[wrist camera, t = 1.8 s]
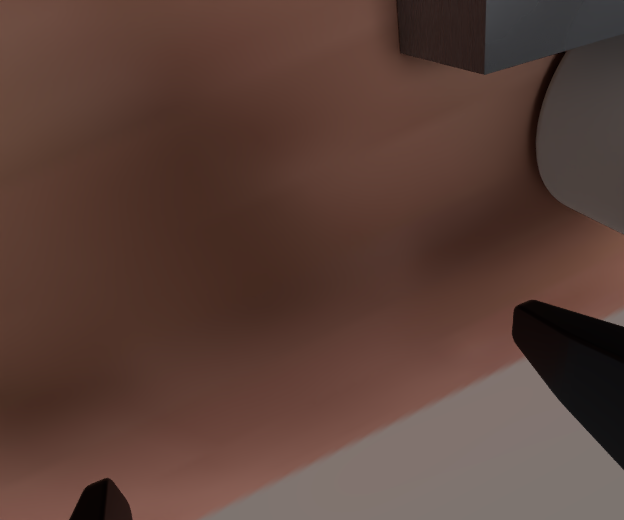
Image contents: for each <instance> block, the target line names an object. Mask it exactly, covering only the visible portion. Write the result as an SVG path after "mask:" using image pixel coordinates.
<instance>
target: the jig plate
mask: <svg viewBox="0 0 624 520" xmlns="http://www.w3.org/2000/svg"><path fill="white" fill-rule="evenodd" d="M397 6H398V21H399V36H400V51H401V54H405V55H409V56H413V57H417V58H421V59H425V60H429V61H433V62H436V63H440V64H444V65H448V66H452V67H456V68H460V69H464V70H468V71H471V72H475V73H479V74H483V75H485V74H489V73H492V72H496V71H499V70H502V69H506V68H509V67H513V66H516V65H519V64H523V63H526V62H530V61H533V60H536V59H540V58H543V57H546V56H550V55H553V54H557V53H560V52H563V51H567V50H570V49H574V48H577V47H580V46H584V45H587V44H591V43H594V42H597V41H601V40H604V39H607V38H611V37H614V36H618V35H621V34H624V0H397Z"/></svg>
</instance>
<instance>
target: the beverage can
mask: <svg viewBox="0 0 624 520" xmlns="http://www.w3.org/2000/svg"><path fill="white" fill-rule="evenodd" d="M536 156H537V164H538V168H539V172H540V176H541V178H542V180H543V182H544V184H545V186H546V188H547V189H548V191H549V192H550V193H551V194H552V195H553V196H554V197H555V198H556V199H557V200H558V201H559V202H561V203H562V204H564V205H565V206H567V207H569V208H571V209H573V210H575V211H577V212H579V213H581V214H583V215H585V216H587V217H589V218H591V219H593V220H595V221H597V222H599V223H601V224H603V225H606V226H608V227H610V228H612V229H614V230H616V231H618V232H620V233H622V234H624V34H621V35H618V36H614V37H611V38H607V39H604V40H601V41H597V42H594V43H591V44H587V45H584V46H580V47H577V48H574V49H570V50H567V52H566V53H565V55H564V56H563V58H562V60H561V62H560V63H559V65H558V67H557V69H556V71H555V73H554V75H553V77H552V79H551V82H550V84H549V87H548V89H547V92H546V95H545V98H544V100H543V104H542V107H541V111H540V115H539V120H538V126H537V134H536Z"/></svg>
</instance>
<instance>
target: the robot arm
mask: <svg viewBox="0 0 624 520" xmlns="http://www.w3.org/2000/svg"><path fill="white" fill-rule="evenodd" d="M512 336H513V339H514V341H515V343H516V345H517V346H518V347H519V349H520V350H521V351H522V353H523V354H524V355H525V357H526V358H527V359H528V361H529V362H530V363H531V365H532V366H533V367H534V368H535V370H536V371H537V372H538V374H539V375H540V376H541V378H542V379H543V380H544V382H545V383H546V384H547V385H548V387H549V388H550V389H551V391H552V392H553V393H554V394H555V396H556V397H557V398H558V399H559V401H560V402H561V403H562V404H563V405H564V406H565V407H566V408H567V409H568V411H569V412H571V414H572V415H573V416H574V417H575V418H576V419H577V420H578V421H579V422H580V423H581V424H582V425H583V427H584V428H585V429H586V430H587V431H588V432H589V433H590V434H591V435H592V436H593V437H594V438H595V439H596V441H597V442H598V443H599V444H600V445H601V446H602V447H603V448H604V449H605V450H606V451H607V452H608V454H610V456H611V457H612V458H613V459H614V460H615V461H616V462H617V463H618V464H619V465H620V466H621V467H622V469H623V470H624V327H623V326H619V325H616V324H612V323H609V322H606V321H603V320H599V319H596V318H593V317H589V316H586V315H583V314H580V313H576V312H573V311H570V310H566V309H563V308H560V307H556V306H553V305H550V304H546V303H543V302H540V301H536V300H529V301H527V302H524V303H522V304H519V305H517V306H516V307H515V309H514V313H513V326H512ZM69 520H132V514H131V510H130V506H129V504H128V501H127V500H126V498H125V497H124V496H123V494H122V493H121V492H120V490H119V489H118V487H117V486H116V485H115V483H114V482H113V481H112V480H111V479H110V478H105V479H102V480H100V481H97V482H95V483H93V484H90V485H88V486H87V487H86V488H85V489H84V490H83V492H82V494H81V496H80V498H79V501H78V503H77V505H76V507H75V509H74V511H73V513H72V515H71V517H70V519H69Z"/></svg>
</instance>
